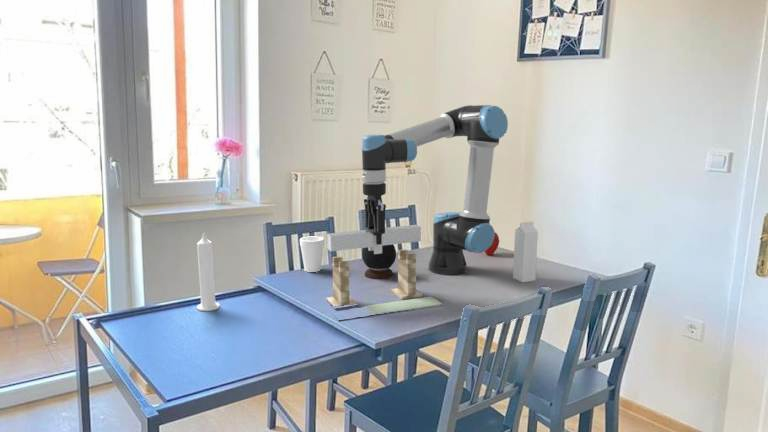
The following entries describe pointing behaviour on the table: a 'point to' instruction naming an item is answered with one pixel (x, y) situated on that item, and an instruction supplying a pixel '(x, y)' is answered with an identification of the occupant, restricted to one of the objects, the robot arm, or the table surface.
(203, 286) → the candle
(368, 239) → the rail
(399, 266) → the cradle posts
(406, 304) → the mat
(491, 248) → the apple
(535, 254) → the milk
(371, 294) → the table surface
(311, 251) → the foam cup
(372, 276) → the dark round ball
